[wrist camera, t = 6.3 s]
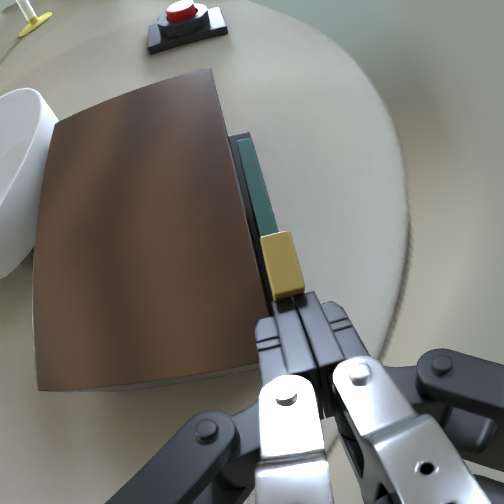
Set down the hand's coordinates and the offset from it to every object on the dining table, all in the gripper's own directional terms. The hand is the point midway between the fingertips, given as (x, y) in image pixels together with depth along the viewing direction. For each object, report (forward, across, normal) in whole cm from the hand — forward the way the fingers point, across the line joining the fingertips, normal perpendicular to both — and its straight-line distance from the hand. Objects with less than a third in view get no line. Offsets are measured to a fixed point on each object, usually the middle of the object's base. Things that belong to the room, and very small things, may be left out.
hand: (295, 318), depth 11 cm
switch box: (+34, +3, -21) cm, 40 cm away
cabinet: (+12, +7, +1) cm, 14 cm away
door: (+10, 0, +2) cm, 10 cm away
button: (+32, +3, -23) cm, 40 cm away
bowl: (+19, +24, -5) cm, 31 cm away
